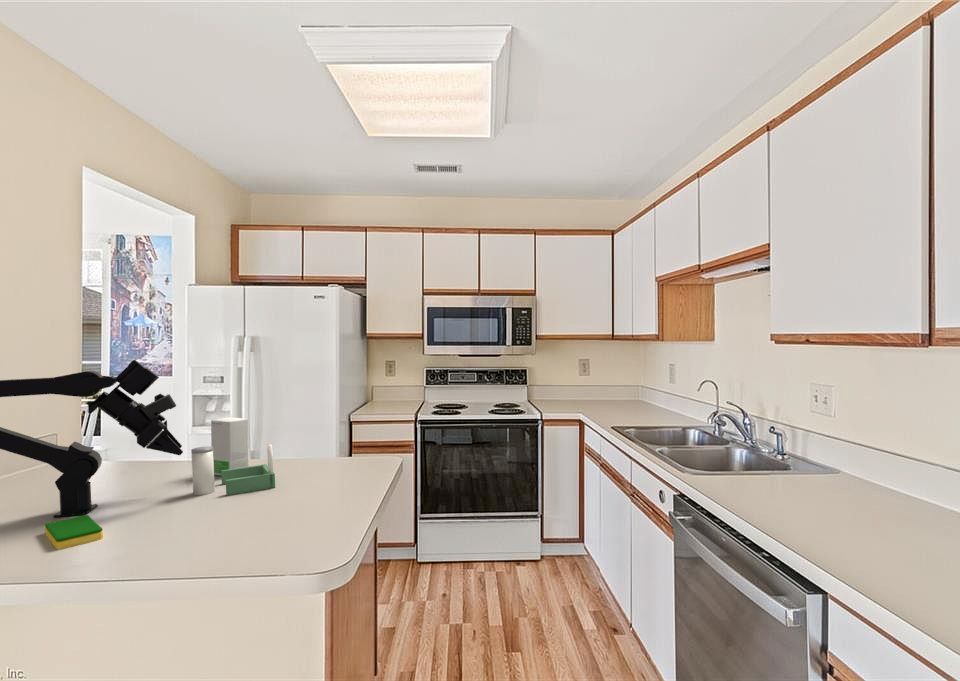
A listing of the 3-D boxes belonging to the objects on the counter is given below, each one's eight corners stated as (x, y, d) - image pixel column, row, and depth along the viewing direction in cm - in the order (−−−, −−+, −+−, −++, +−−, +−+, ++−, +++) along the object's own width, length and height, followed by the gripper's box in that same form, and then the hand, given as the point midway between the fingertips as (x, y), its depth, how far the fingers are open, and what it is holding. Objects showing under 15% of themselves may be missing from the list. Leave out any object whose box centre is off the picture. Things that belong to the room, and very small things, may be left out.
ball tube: (212, 494, 135) (210, 449, 135) (191, 496, 134) (189, 451, 134) (216, 488, 139) (214, 445, 139) (195, 491, 138) (194, 447, 138)
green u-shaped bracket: (226, 495, 133) (224, 452, 133) (221, 483, 145) (220, 443, 145) (275, 487, 139) (273, 446, 139) (266, 476, 150) (265, 438, 150)
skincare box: (211, 475, 155) (208, 420, 155) (231, 469, 161) (229, 416, 161) (231, 477, 151) (228, 421, 151) (251, 471, 157) (248, 417, 157)
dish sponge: (57, 552, 101) (56, 539, 100) (45, 535, 110) (44, 523, 110) (103, 540, 106) (102, 528, 106) (87, 525, 115) (87, 514, 115)
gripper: (151, 386, 123) (208, 429, 129) (153, 382, 139) (203, 420, 145) (111, 425, 119) (171, 468, 125) (117, 416, 136) (170, 454, 141)
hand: (181, 450), depth 134 cm, fingers open, 9 cm apart
